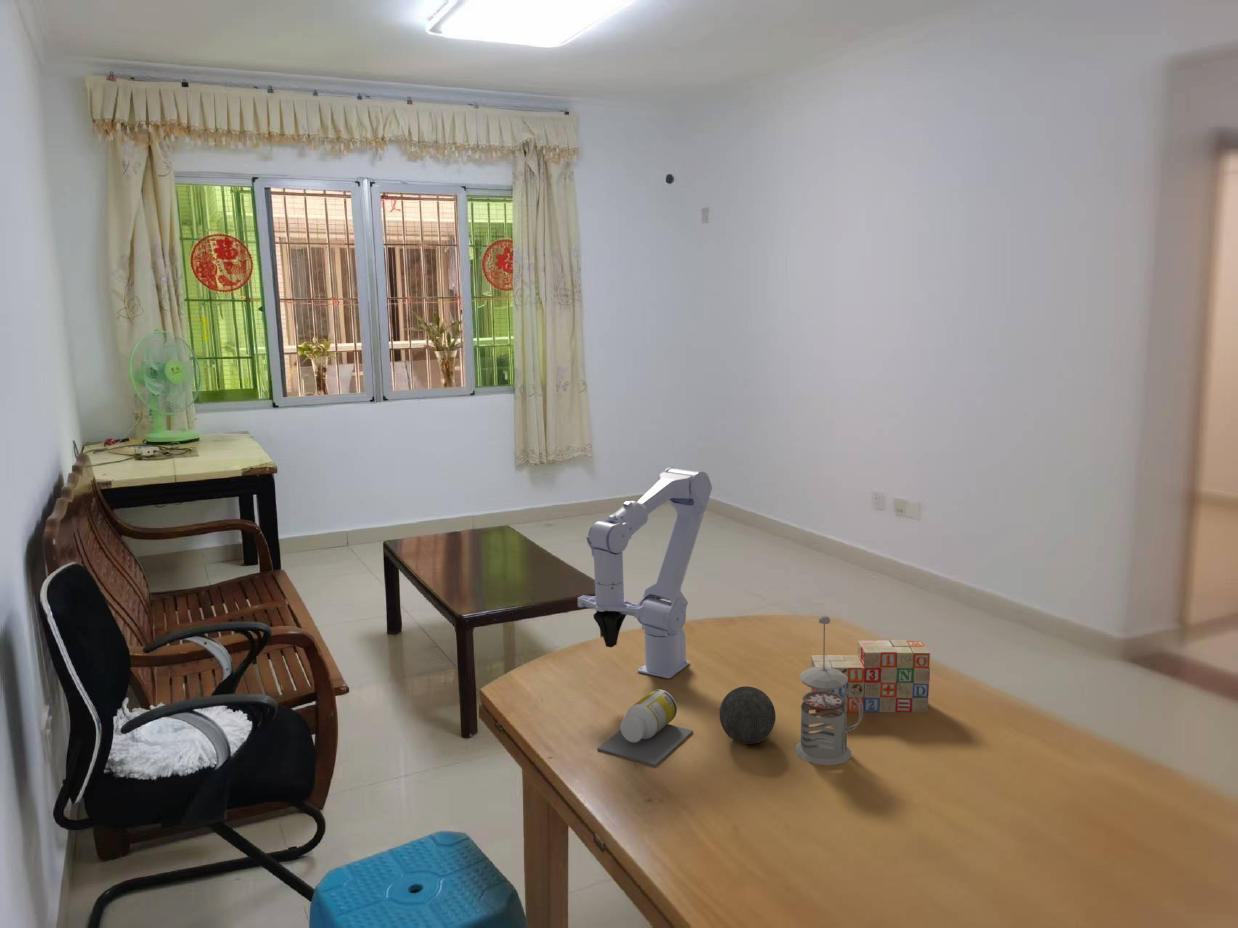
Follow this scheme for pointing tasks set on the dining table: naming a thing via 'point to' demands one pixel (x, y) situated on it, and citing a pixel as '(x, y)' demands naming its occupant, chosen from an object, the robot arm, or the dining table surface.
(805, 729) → the french press
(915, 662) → the stack of blocks
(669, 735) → the mat
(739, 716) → the decorative ball
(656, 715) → the pill bottle
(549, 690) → the dining table surface
